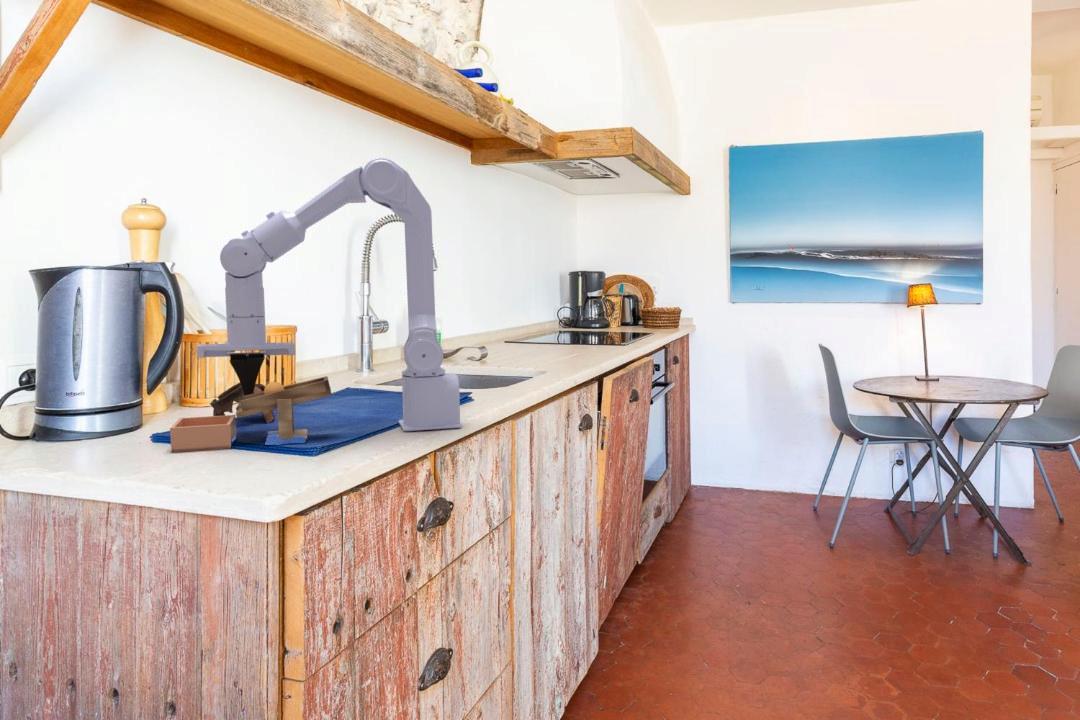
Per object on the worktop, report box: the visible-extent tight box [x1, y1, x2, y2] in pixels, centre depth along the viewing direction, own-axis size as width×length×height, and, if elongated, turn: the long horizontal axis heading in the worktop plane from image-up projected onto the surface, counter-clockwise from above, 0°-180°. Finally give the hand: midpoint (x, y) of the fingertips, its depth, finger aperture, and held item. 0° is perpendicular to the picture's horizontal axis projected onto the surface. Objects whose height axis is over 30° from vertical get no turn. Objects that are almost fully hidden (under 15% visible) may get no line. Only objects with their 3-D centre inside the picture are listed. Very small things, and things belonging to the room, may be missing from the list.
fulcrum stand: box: [267, 399, 308, 439], centre depth 113 cm, size 6×8×7 cm
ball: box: [264, 381, 284, 395], centre depth 112 cm, size 3×3×3 cm
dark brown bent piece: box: [209, 382, 276, 423], centre depth 129 cm, size 12×10×8 cm
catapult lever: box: [235, 375, 332, 419], centre depth 115 cm, size 14×11×2 cm
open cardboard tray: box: [169, 414, 237, 454], centre depth 110 cm, size 8×8×4 cm
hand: (249, 400), depth 117 cm, fingers closed, pressing on catapult lever
